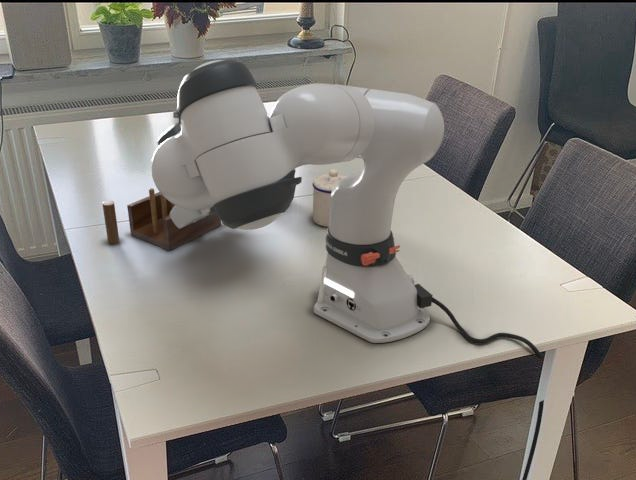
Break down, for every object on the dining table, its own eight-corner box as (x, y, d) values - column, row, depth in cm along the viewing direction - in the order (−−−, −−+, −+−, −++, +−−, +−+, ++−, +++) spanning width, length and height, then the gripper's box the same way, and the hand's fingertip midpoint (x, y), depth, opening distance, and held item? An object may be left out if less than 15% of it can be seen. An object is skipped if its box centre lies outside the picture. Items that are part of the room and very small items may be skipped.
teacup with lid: (355, 226, 171) (358, 177, 164) (316, 229, 169) (317, 179, 163) (343, 205, 180) (345, 157, 174) (305, 208, 179) (306, 160, 172)
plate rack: (221, 225, 170) (218, 176, 164) (169, 250, 160) (164, 199, 153) (182, 211, 176) (178, 163, 169) (130, 235, 166) (124, 185, 159)
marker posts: (200, 206, 179) (198, 169, 174) (113, 245, 161) (107, 206, 156) (193, 203, 180) (190, 166, 175) (105, 242, 162) (99, 203, 157)
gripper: (253, 157, 158) (220, 190, 168) (183, 187, 144) (152, 221, 155) (270, 183, 158) (236, 214, 169) (201, 215, 145) (170, 246, 155)
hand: (196, 217), depth 162 cm, fingers closed, pressing on plate rack
